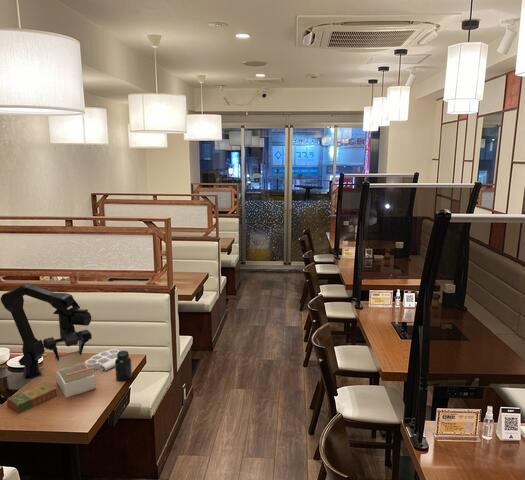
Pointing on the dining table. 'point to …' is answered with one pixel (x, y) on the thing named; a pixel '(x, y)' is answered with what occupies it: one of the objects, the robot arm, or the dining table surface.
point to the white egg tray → (103, 360)
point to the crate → (74, 381)
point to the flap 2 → (80, 374)
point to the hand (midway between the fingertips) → (69, 357)
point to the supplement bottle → (123, 366)
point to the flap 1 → (69, 359)
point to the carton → (31, 397)
